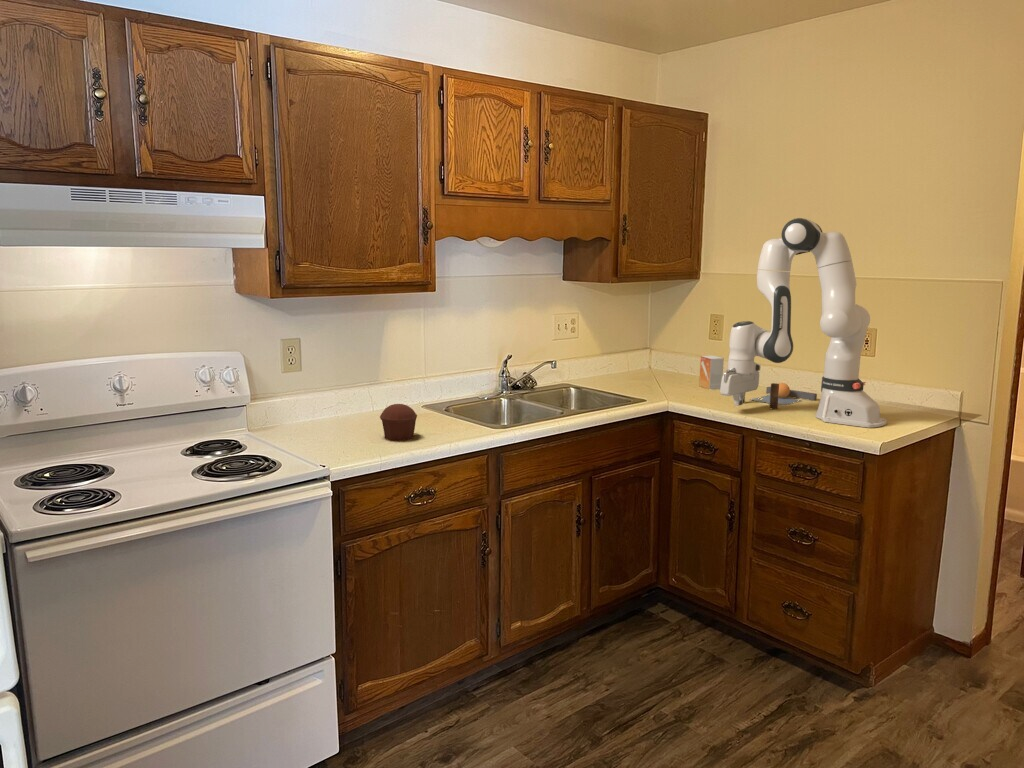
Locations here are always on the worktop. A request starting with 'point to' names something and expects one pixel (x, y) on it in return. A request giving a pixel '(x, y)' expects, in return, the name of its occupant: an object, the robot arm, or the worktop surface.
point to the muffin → (398, 422)
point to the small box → (711, 372)
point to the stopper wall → (798, 394)
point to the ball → (783, 390)
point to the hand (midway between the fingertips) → (738, 405)
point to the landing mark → (780, 400)
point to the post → (774, 395)
